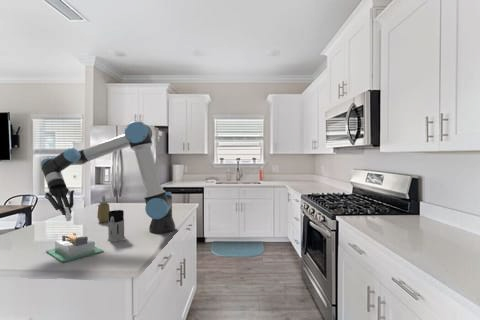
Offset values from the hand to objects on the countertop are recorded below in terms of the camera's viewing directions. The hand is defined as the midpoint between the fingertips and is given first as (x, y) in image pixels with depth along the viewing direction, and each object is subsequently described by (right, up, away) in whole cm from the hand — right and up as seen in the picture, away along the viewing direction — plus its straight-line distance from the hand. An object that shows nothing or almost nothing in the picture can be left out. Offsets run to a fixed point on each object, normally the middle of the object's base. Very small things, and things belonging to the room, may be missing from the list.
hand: (69, 219), depth 132 cm
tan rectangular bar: (+3, -9, -2) cm, 10 cm away
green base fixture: (+4, -15, -2) cm, 15 cm away
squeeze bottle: (-12, -14, +58) cm, 61 cm away
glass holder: (+15, -15, +15) cm, 26 cm away
